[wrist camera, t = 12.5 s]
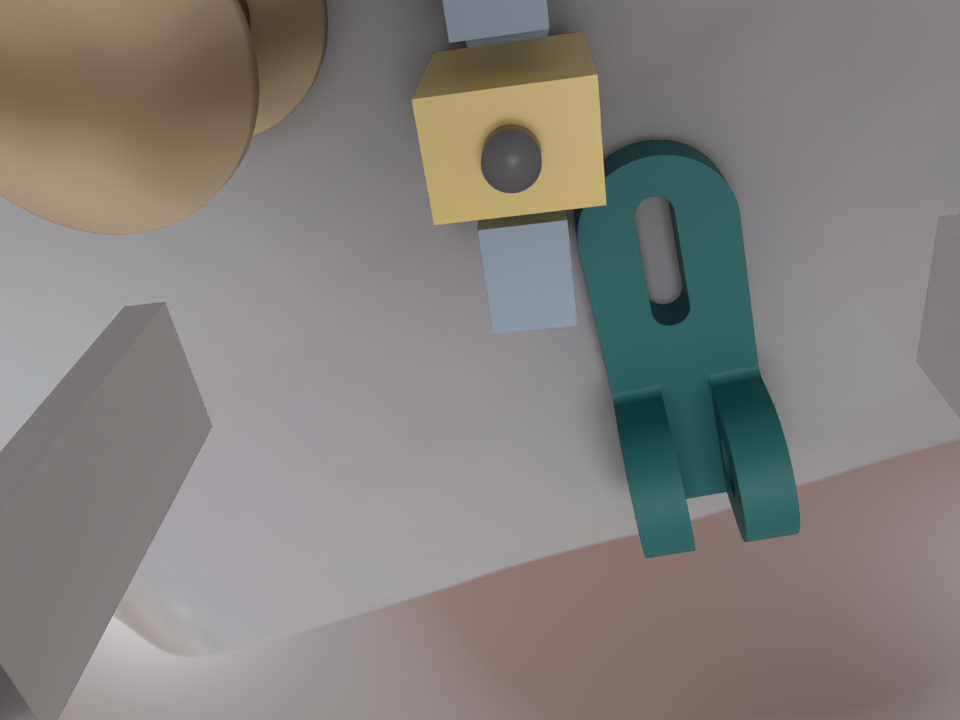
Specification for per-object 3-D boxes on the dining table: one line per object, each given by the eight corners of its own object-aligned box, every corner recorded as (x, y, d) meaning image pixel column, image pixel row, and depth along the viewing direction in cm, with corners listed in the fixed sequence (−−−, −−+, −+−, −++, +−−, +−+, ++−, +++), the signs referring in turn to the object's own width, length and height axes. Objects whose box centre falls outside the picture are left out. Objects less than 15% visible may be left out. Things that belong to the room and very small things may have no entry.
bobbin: (33, -113, 31) (-178, -100, 22) (291, -157, 30) (185, -164, 21) (128, 149, 36) (-11, 251, 27) (351, 119, 35) (289, 215, 26)
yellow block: (433, 52, 31) (407, 108, 24) (582, 31, 30) (600, 82, 23) (450, 158, 33) (431, 237, 26) (590, 140, 32) (609, 216, 25)
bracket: (761, 456, 43) (805, 565, 37) (633, 479, 45) (652, 589, 38) (718, 120, 35) (765, 184, 28) (560, 160, 36) (567, 230, 29)
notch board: (450, -118, 30) (425, -110, 23) (532, -131, 30) (535, -128, 22) (499, 236, 38) (493, 334, 30) (566, 229, 37) (577, 325, 29)
